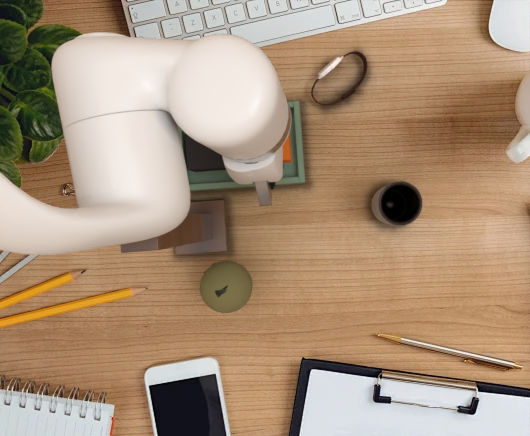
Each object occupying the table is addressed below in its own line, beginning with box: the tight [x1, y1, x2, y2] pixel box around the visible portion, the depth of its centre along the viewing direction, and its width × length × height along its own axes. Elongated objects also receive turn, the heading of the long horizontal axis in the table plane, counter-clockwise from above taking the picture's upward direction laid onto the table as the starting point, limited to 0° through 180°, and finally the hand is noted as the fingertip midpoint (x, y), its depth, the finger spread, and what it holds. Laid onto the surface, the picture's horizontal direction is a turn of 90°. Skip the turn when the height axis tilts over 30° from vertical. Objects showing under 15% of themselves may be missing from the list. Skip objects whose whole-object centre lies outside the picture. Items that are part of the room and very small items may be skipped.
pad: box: [185, 133, 226, 172], centre depth 70 cm, size 5×5×3 cm
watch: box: [310, 50, 368, 107], centre depth 70 cm, size 8×5×4 cm, turn 132°
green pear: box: [199, 260, 254, 314], centre depth 67 cm, size 6×6×10 cm
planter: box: [370, 180, 423, 227], centre depth 67 cm, size 4×4×10 cm
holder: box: [178, 100, 307, 192], centre depth 71 cm, size 14×9×2 cm, turn 94°
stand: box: [119, 199, 229, 256], centre depth 60 cm, size 6×6×24 cm
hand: (267, 142), depth 69 cm, fingers closed on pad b, 5 cm apart
